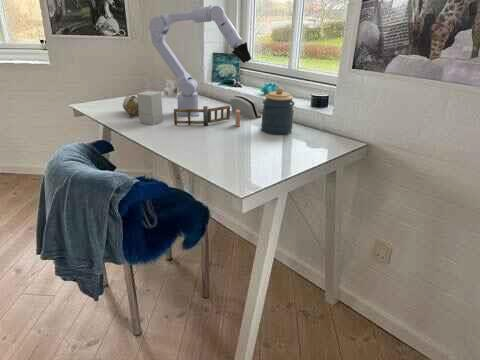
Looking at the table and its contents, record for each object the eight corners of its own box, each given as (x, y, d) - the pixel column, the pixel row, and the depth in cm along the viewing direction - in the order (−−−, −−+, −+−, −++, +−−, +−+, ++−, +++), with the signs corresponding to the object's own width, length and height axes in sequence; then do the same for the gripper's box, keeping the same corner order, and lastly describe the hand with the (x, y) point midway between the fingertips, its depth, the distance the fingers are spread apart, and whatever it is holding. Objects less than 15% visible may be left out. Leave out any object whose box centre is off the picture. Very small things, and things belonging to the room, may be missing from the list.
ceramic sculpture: (137, 90, 169) (153, 98, 159) (138, 108, 173) (154, 117, 163) (115, 93, 162) (131, 102, 153) (117, 112, 166) (132, 121, 157)
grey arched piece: (262, 117, 166) (257, 98, 160) (254, 122, 164) (250, 102, 158) (239, 109, 178) (235, 91, 172) (232, 113, 176) (227, 95, 170)
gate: (209, 123, 152) (209, 109, 149) (207, 122, 153) (207, 108, 150) (229, 119, 158) (230, 106, 156) (228, 118, 159) (228, 105, 157)
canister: (255, 127, 152) (257, 85, 144) (282, 124, 157) (285, 83, 149) (269, 136, 141) (273, 91, 134) (297, 133, 146) (302, 90, 138)
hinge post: (203, 125, 151) (203, 107, 148) (203, 124, 153) (203, 106, 149) (208, 126, 151) (208, 107, 148) (208, 124, 153) (208, 106, 149)
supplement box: (163, 121, 155) (161, 92, 150) (153, 125, 149) (150, 95, 144) (150, 118, 158) (147, 90, 153) (139, 123, 152) (136, 93, 147)
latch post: (236, 126, 151) (236, 111, 149) (235, 124, 155) (235, 109, 152) (239, 126, 151) (240, 111, 149) (239, 124, 155) (239, 109, 152)
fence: (174, 125, 150) (173, 109, 147) (174, 124, 152) (174, 108, 149) (204, 125, 151) (203, 109, 148) (204, 124, 152) (203, 109, 150)
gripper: (240, 24, 144) (258, 54, 148) (234, 30, 157) (251, 57, 161) (226, 34, 144) (245, 64, 148) (221, 39, 157) (238, 66, 161)
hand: (247, 61), depth 155 cm, fingers open, 7 cm apart
